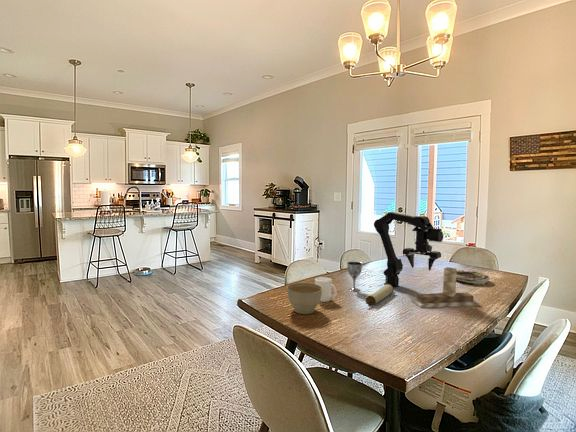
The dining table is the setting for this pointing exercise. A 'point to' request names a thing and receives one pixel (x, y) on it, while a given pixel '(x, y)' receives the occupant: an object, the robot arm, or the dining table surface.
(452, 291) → the ash post
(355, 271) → the wine glass
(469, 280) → the pie
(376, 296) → the rolling pin
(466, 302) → the ridge stand
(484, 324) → the dining table surface
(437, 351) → the dining table surface
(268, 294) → the dining table surface
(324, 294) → the mug
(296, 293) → the planter bowl
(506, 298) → the dining table surface
